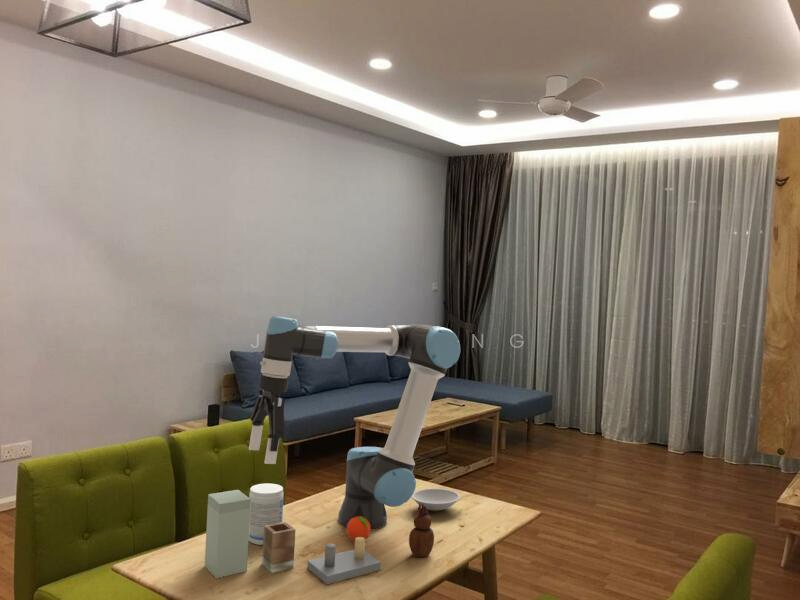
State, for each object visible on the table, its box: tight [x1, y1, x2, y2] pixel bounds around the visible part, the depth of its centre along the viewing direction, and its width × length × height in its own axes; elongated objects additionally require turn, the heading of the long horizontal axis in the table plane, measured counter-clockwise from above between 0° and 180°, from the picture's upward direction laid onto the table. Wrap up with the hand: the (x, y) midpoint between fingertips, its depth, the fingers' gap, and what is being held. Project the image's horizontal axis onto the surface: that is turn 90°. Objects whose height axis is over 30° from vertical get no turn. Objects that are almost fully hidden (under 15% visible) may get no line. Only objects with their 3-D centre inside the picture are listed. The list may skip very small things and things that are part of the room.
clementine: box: [346, 516, 372, 542], centre depth 182 cm, size 8×7×7 cm
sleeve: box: [261, 521, 296, 574], centre depth 164 cm, size 6×6×10 cm
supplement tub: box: [248, 483, 284, 546], centre depth 180 cm, size 10×10×15 cm
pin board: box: [307, 537, 382, 585], centre depth 164 cm, size 16×10×7 cm, turn 127°
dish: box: [411, 487, 461, 511], centre depth 211 cm, size 18×14×5 cm
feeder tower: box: [204, 489, 251, 579], centre depth 161 cm, size 8×8×18 cm
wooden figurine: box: [408, 503, 435, 558], centre depth 175 cm, size 7×6×15 cm
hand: (261, 456), depth 165 cm, fingers open, 13 cm apart
